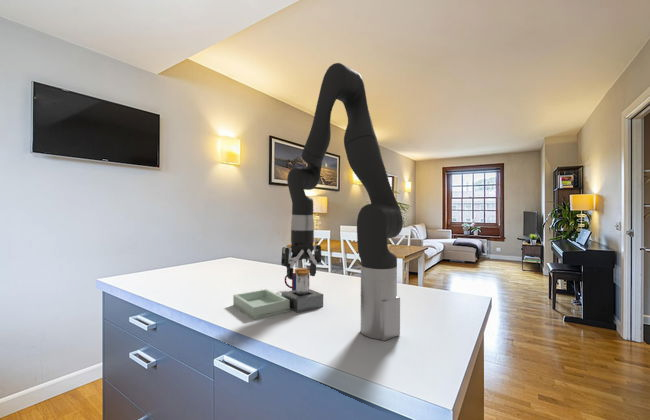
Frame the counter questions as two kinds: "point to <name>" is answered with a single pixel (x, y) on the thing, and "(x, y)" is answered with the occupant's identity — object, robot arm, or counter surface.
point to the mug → (294, 282)
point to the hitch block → (304, 300)
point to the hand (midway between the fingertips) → (301, 277)
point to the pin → (302, 281)
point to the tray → (261, 303)
